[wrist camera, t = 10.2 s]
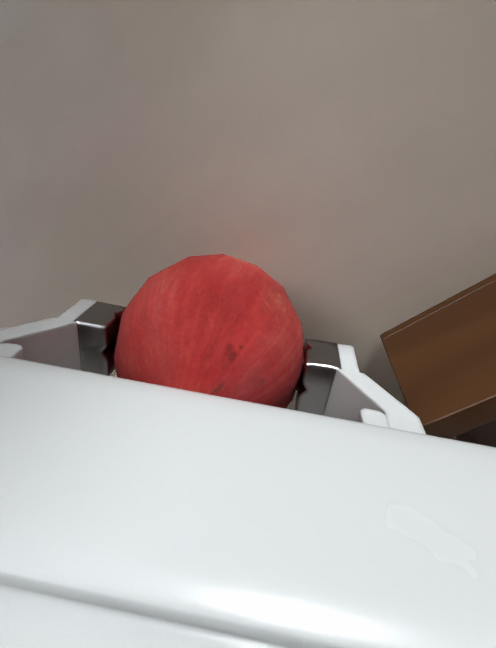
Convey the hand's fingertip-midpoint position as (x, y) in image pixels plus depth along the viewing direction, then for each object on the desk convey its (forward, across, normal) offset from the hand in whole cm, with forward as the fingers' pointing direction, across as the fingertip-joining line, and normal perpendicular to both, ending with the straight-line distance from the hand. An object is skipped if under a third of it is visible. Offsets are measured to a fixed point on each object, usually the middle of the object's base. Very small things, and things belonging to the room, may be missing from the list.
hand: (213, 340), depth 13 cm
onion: (+3, 0, 0) cm, 3 cm away
